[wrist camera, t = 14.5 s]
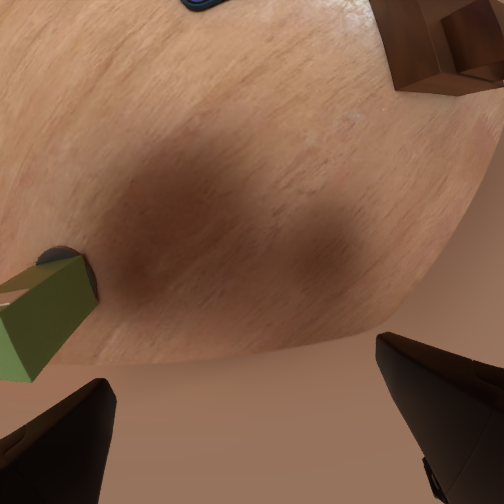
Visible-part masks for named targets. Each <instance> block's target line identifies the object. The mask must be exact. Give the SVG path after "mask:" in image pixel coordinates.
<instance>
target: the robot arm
mask: <svg viewBox="0 0 504 504" xmlns="http://www.w3.org/2000/svg"><path fill="white" fill-rule="evenodd" d="M376 361H377V364H378V366H379V368H380V371H381V373H382V375H383V377H384V380H385V382H386V385H387V387H388V389H389V392H390V394H391V396H392V398H393V400H394V402H395V404H396V405H397V407H398V409H399V411H400V412H401V414H402V416H403V418H404V419H405V421H406V423H407V425H408V426H409V428H410V430H411V432H412V434H413V436H414V437H415V439H416V441H417V442H418V445H419V446H420V448H421V450H422V452H423V454H424V455H425V457H424V458H423V459H422V460H423V463H424V468H425V471H426V474H427V477H428V480H429V483H430V486H431V489H432V492H433V495H434V497H435V498H437V499H439V500H441V501H442V502H443V503H444V504H504V368H500V367H495V366H492V365H488V364H485V363H481V362H479V361H475V360H473V361H472V360H471V359H469V358H466V357H462V356H460V355H457V354H454V353H450V352H447V351H444V350H441V349H438V348H435V347H432V346H429V345H426V344H424V343H421V342H418V341H415V340H412V339H409V338H406V337H403V336H400V335H397V334H394V333H391V332H385V333H382V334H378V336H377V337H376ZM116 403H117V400H116V396H115V394H114V392H113V390H112V388H111V386H110V384H109V382H108V381H107V380H106V379H105V378H96V379H93V380H92V381H90V382H89V383H87V384H86V385H84V386H83V387H81V388H80V389H79V390H77V391H76V392H74V393H72V394H71V395H69V396H68V397H67V398H65V399H63V400H62V401H60V402H59V403H57V404H56V405H54V406H53V407H51V408H50V409H48V410H47V411H45V412H44V413H42V414H41V415H39V416H37V417H36V418H34V419H33V420H32V421H30V422H28V423H27V424H26V425H24V426H22V427H20V428H19V429H17V430H16V431H14V432H12V433H11V434H9V435H8V436H6V437H4V438H2V439H0V504H98V500H99V495H100V490H101V484H102V480H103V475H104V470H105V466H106V461H107V456H108V452H109V448H110V443H111V439H112V433H113V425H114V418H115V409H116Z"/></svg>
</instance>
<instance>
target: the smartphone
mask: <svg viewBox="0 0 504 504" xmlns="http://www.w3.org/2000/svg"><path fill="white" fill-rule="evenodd" d="M181 1H182V2H183V3H184V4H185V5H186V6H187V7H188V8H190V9H194V10H200V9H204V8H207V7H209V6H211V5H213V4H216V3H218V2H220V1H223V0H181Z"/></svg>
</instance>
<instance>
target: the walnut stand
mask: <svg viewBox="0 0 504 504" xmlns="http://www.w3.org/2000/svg"><path fill="white" fill-rule="evenodd" d="M369 1H370V4H371V6H372V9H373V12H374V15H375V18H376V21H377V24H378V27H379V30H380V33H381V37H382V40H383V43H384V47H385V50H386V54H387V58H388V62H389V66H390V70H391V74H392V78H393V82H394V87H395V90H396V91H412V92H425V93H435V94H444V95H452V96H462V95H466V94H471V93H475V92H480V91H485V90H490V89H496V88H501V87H504V82H503V80H504V4H503V3H501V2H499V1H497V0H369Z"/></svg>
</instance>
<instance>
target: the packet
mask: <svg viewBox="0 0 504 504" xmlns="http://www.w3.org/2000/svg"><path fill="white" fill-rule="evenodd" d="M96 306H97V301H96V298H95V295H94V292H93V289H92V286H91V283H90V280H89V277H88V274H87V270H86V267H85V263H84V260H83V256H82V255H80V256H75V257H71V258H66V259H62V260H57V261H53V262H49V263H44V264H40V265H36V266H32V267H30V268H28V269H26V270H25V271H23V272H21V273H20V274H18V275H16V276H15V277H13V278H11V279H10V280H8V281H6V282H5V283H3V284H2V285H0V380H5V381H15V382H27V383H32V382H33V381H34V380H35V379H36V377H37V376H38V375H39V373H40V372H41V371H42V370H43V368H44V367H45V366H46V365H47V363H48V362H49V361H50V360H51V358H52V357H53V356H54V355H55V354H56V352H57V351H58V350H59V349H60V348H61V346H62V345H63V344H64V343H65V342H66V340H67V339H68V338H69V337H70V336H71V334H72V333H73V332H74V331H75V330H76V329H77V327H78V326H79V325H80V324H81V323H82V322H83V321H84V319H85V318H86V317H87V316H88V315H89V314H90V313H91V311H92V310H93V309H94V308H95V307H96Z"/></svg>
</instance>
